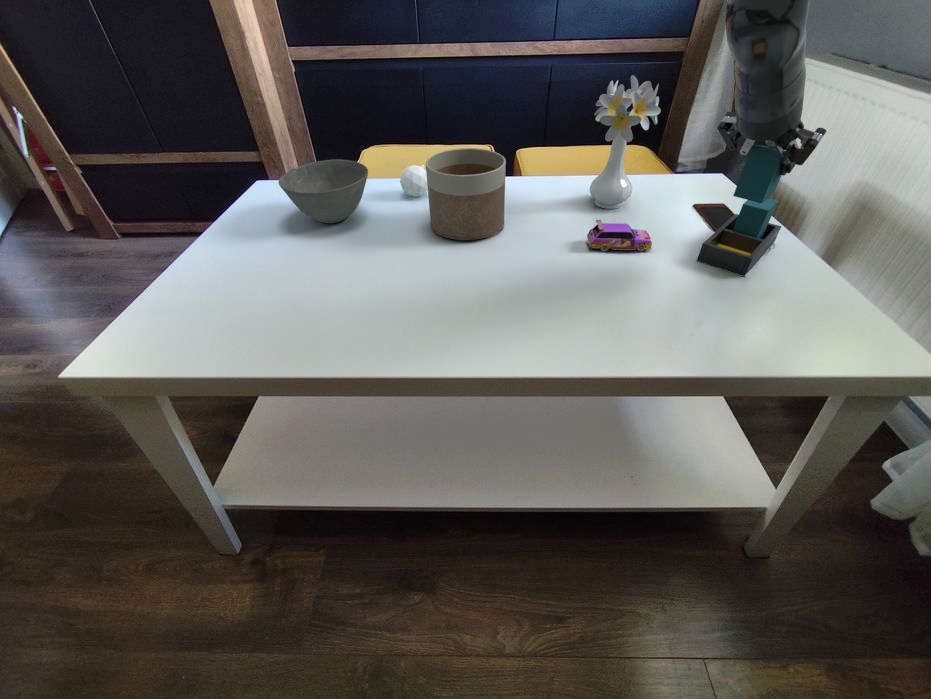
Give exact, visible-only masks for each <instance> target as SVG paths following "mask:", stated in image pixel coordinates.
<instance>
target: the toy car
mask: <svg viewBox="0 0 931 699" xmlns="http://www.w3.org/2000/svg"><path fill="white" fill-rule="evenodd" d="M595 221H596V225H594V227H593V228H590V229H589V231H588V233H587V234H586V238H587V242H588V245H589V248H590V249H600V251H601V252H607V251H608V250H609V249H611V250H620V251H623V250H624V251H635V250H637V251H638V252H643V251H645V250H652V247H653V246H652V245H653V242H652V238H651V236H650V234H649V232H648V231H647V230H644V229H636V228H632V227H631V226H630V224H628V223H615V222H614V223H611V222H610V223H607V222H606V223H602V220H601V219H596V220H595Z"/></svg>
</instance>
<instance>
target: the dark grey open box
mask: <svg viewBox="0 0 931 699" xmlns="http://www.w3.org/2000/svg"><path fill="white" fill-rule="evenodd" d="M738 216H739V213H738V214H737V213H734V215H733V216H732V217H731V218H730V219H729V220H728V221H727V222H726V223H725V224H723V225H722V226H721V227H720V228H719V229H718V230H717V231H716V232H713V233H712V234H711V235H710V236H709V237H708V238H706V240H705V241H704V242H702V244H701V246H700V249H699V252H698V255H697V258H696V261H697V262H700V263H702V264H705V265H708V266H711V267H714V268H718V269H720V270H723V271H726V272H729V273H732V274H735V275H738V276H741V277H746V276H747V275H748V273H749V272H750V271H751V270H752V269H753V267H754V266H755V265H757V263H758V262H759V261H760V260H761V259H762V257H763V256H764V255H765V254H766V253H767V252H768V250H770V248H771V247H772V246H773V245H774V243H775V241H776V239H777V237H778V235H779V233H780V231H781V229H782V226H781V225H778V224H774V223H772V222H771V223H770V222H769V223H768V225H767V228H766V230H765V232H764V234H763V237H762V239H759V238H756V237H752V236H749V235H745V234H742V233H738V232H735V231H733V228H734V226H735V223H736V221H737V218H738Z"/></svg>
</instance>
